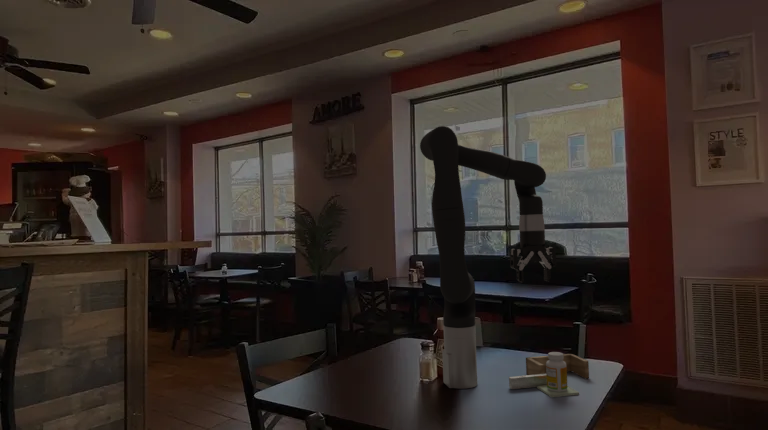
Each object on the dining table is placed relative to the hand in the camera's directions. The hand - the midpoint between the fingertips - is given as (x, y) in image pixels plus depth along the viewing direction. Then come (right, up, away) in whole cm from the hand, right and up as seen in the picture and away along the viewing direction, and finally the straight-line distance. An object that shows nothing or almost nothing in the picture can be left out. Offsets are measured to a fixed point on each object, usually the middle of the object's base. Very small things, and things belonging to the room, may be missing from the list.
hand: (534, 281), depth 160 cm
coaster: (+1, -28, -18) cm, 33 cm away
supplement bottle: (+1, -27, -18) cm, 33 cm away
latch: (-4, -28, -14) cm, 31 cm away
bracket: (+6, -28, -5) cm, 29 cm away
